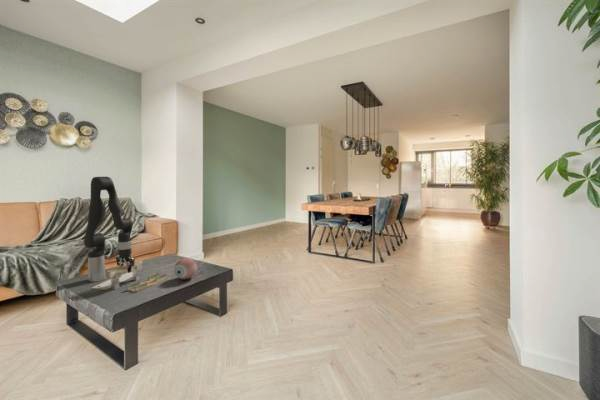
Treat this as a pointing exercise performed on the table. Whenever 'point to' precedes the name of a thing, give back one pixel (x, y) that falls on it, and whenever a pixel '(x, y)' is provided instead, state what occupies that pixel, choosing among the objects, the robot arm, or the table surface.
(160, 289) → the table surface
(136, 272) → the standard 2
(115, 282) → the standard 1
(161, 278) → the rack
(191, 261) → the eyeball
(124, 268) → the rail
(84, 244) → the robot arm
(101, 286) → the baseboard
